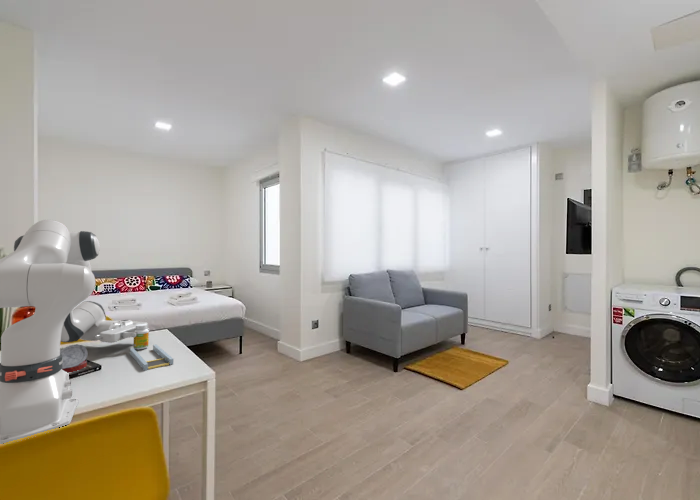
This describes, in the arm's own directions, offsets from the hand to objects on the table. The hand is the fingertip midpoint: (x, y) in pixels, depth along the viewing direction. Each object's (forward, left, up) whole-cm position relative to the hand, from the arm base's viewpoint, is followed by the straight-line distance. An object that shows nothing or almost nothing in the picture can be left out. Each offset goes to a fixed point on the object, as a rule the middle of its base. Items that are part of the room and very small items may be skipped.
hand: (142, 332), depth 139 cm
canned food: (-12, +24, -7) cm, 28 cm away
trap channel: (-16, +1, -7) cm, 18 cm away
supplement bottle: (0, 0, -7) cm, 7 cm away
